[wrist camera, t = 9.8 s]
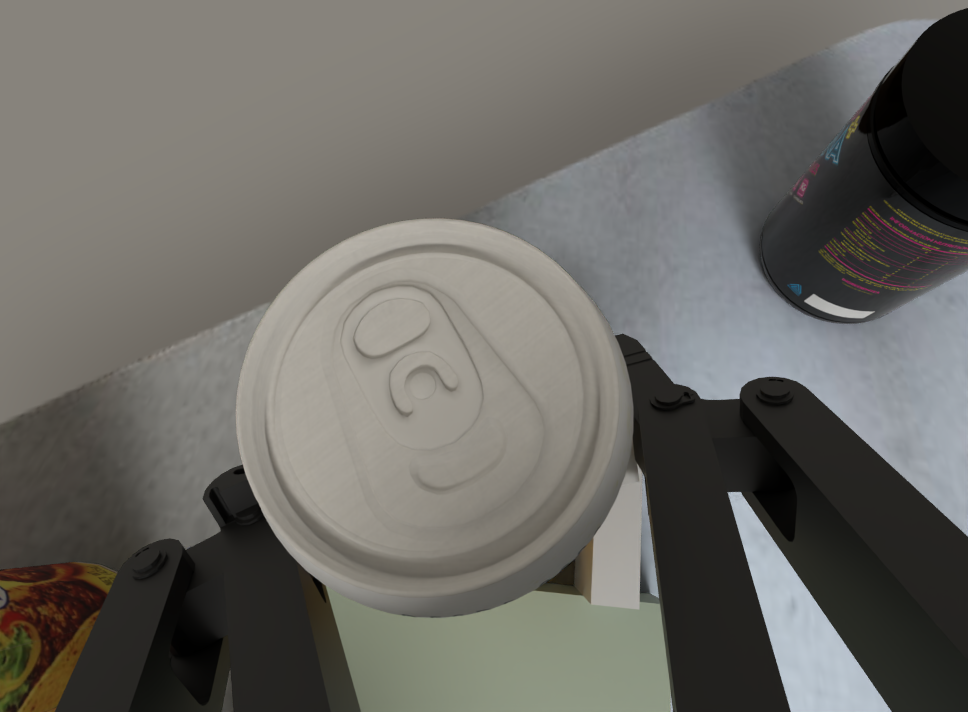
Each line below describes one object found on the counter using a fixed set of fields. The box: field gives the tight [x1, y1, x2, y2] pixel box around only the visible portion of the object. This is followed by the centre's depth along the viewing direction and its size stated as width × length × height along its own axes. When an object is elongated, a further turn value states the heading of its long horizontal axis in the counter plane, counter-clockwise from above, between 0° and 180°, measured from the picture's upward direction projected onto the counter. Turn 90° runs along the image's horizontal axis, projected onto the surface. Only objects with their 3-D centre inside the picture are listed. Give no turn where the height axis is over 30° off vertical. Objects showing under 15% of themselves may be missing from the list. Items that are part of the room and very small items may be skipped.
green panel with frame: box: [326, 464, 671, 712], centre depth 21 cm, size 14×17×5 cm
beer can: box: [236, 218, 633, 618], centre depth 15 cm, size 6×6×15 cm
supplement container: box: [760, 8, 968, 324], centre depth 21 cm, size 7×7×10 cm
